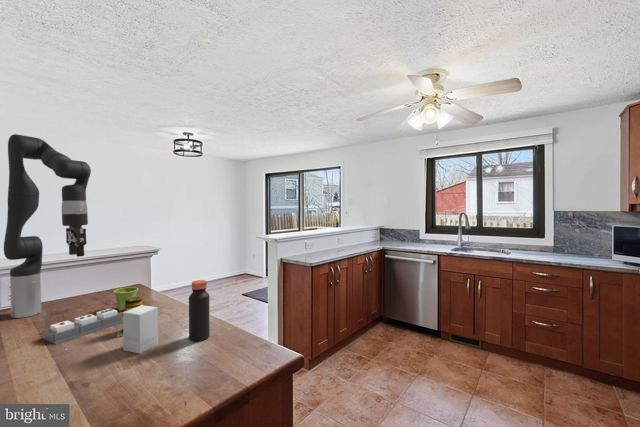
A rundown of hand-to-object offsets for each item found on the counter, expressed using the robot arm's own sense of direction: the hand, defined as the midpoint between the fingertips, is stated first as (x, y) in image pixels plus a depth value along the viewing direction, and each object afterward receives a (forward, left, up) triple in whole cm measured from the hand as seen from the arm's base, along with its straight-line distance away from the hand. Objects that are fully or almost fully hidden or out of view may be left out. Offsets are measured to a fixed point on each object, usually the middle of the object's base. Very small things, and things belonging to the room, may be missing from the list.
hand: (76, 255), depth 113 cm
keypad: (+5, 0, -28) cm, 28 cm away
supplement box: (+37, +2, -28) cm, 46 cm away
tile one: (+5, -7, -26) cm, 27 cm away
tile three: (+5, +8, -26) cm, 27 cm away
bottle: (+48, +16, -28) cm, 58 cm away
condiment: (+21, +8, -28) cm, 36 cm away
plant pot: (-5, +21, -28) cm, 35 cm away
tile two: (+5, 0, -26) cm, 26 cm away
